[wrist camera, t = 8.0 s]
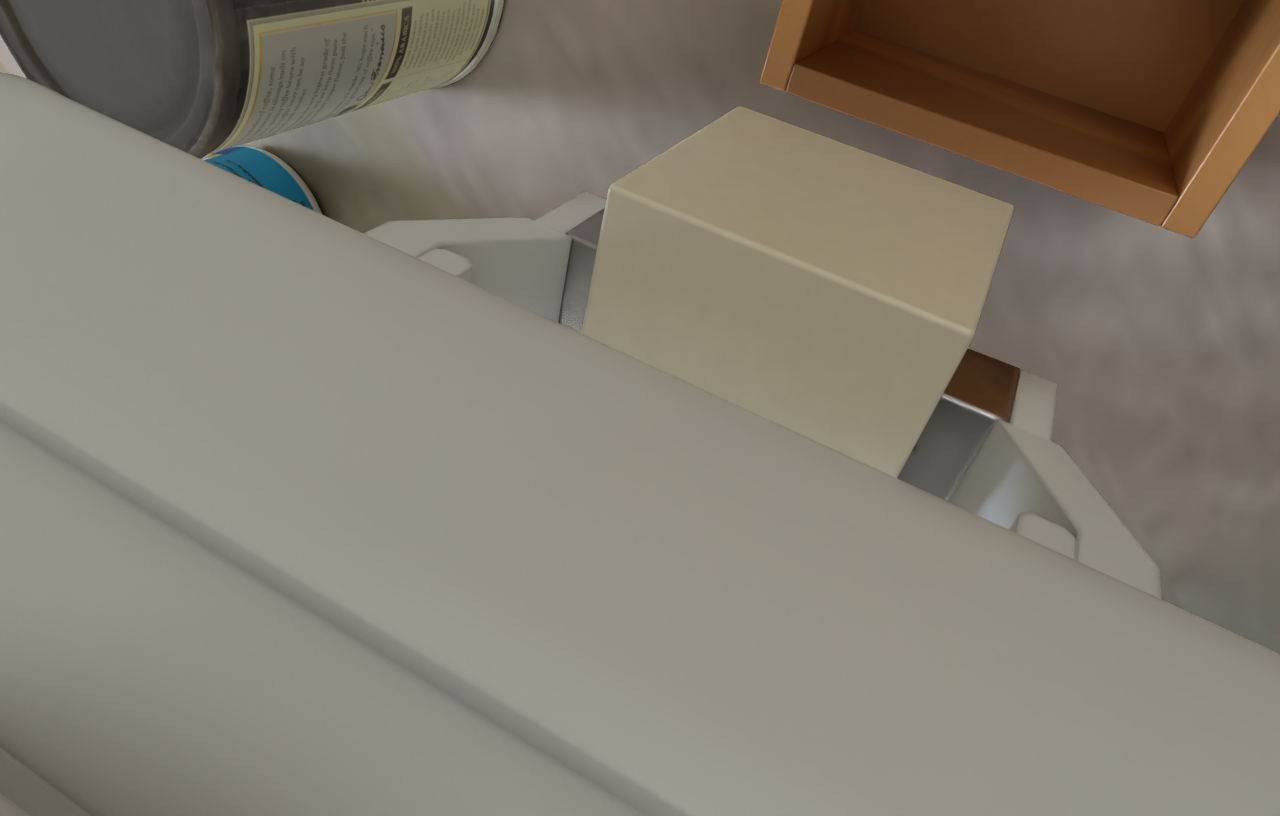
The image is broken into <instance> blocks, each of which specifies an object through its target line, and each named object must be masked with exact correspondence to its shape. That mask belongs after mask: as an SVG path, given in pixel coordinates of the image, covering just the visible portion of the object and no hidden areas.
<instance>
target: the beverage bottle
mask: <svg viewBox="0 0 1280 816" xmlns="http://www.w3.org/2000/svg"><path fill="white" fill-rule="evenodd" d="M202 160H204V161H206V162H208V163H210V164H213V165H215V166H217V167H219V168H221V169H224V170H226V171H228V172H230V173H232V174H234V175H237V176H239V177H241V178H243V179H245V180H248V181H250V182H252V183H254V184H256V185H258V186H261V187H263V188H265V189H267V190H269V191H272V192H274V193H276V194H278V195H280V196H282V197H285V198H287V199H289V200H291V201H293V202H296V203H298V204H300V205H302V206H304V207H306V208H309V209H311V210H313V211H315V212H317V213H320V214H322V213H321V210H320V208H319V206H318V204H317V202H316V200H315V198H314V196H313V195H312V193H311V191H310V190H309V188H308V187H307V185H306V184H305V183H304V181H303V180H302V179H301V178H300V177H299V175H298V174H297V173H296V172H295V171H294V170H293V169H292V168H291V167H290V166H289V165H287V164H286V163H285V162H284V161H282V160H281V159H280V158H278V157H277V156H275V155H273V154H271V153H269V152H267V151H265V150H263V149H260V148H256V147H251V146H236V147H232V148H228V149H225V150H222V151H218V152H216V153H213V154H211V155H209V156H207V157H205V158H202Z"/></svg>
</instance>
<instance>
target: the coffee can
mask: <svg viewBox="0 0 1280 816" xmlns="http://www.w3.org/2000/svg"><path fill="white" fill-rule="evenodd" d="M503 2H504V0H0V35H1V37H2V38H3V40H4V42H5V44H6V45H7V47H8V49H9V50H10V52H11V54H12V55H13V57H14V59H15V60H16V62H17V63H18V65H19V67H20V68H21V70H22V71H23V73H24V74H25V76H26V77H27V79H29V80H31V81H34V82H36V83H38V84H40V85H43V86H45V87H47V88H49V89H51V90H53V91H55V92H57V93H59V94H61V95H63V96H65V97H67V98H69V99H71V100H73V101H75V102H77V103H79V104H82V105H84V106H86V107H88V108H90V109H93V110H95V111H97V112H99V113H101V114H103V115H106V116H108V117H110V118H112V119H114V120H117V121H119V122H121V123H123V124H125V125H127V126H130V127H132V128H134V129H136V130H138V131H141V132H143V133H145V134H147V135H149V136H151V137H154V138H156V139H158V140H160V141H162V142H165V143H167V144H169V145H171V146H173V147H175V148H178V149H180V150H182V151H184V152H186V153H189V154H191V155H193V156H195V157H197V158H200V159H201V158H203V157H204V156H206V155H208V154H211V153H215V152H218V151H222V150H225V149H228V148H232V147H235V146H238V145H241V144H245V143H248V142H251V141H255V140H258V139H262V138H265V137H269V136H272V135H275V134H278V133H282V132H285V131H288V130H292V129H295V128H298V127H302V126H305V125H308V124H312V123H315V122H318V121H322V120H325V119H328V118H331V117H335V116H339V115H342V114H345V113H348V112H351V111H355V110H358V109H361V108H364V107H368V106H371V105H375V104H378V103H382V102H386V101H389V100H392V99H395V98H398V97H402V96H405V95H408V94H412V93H415V92H418V91H422V90H425V89H433V88H440V87H444V86H447V85H449V84H451V83H454V82H456V81H458V80H460V79H461V78H463V77H464V76H465V75H467V74H468V73H469V72H471V71H472V70H473V69H474V68H475V67H476V66H477V64H478V63H479V62H480V61H481V60H482V58H483V57H484V55H485V54H486V52H487V51H488V49H489V47H490V45H491V43H492V41H493V39H494V37H495V36H496V33H497V29H498V25H499V21H500V17H501V14H502V10H503Z"/></svg>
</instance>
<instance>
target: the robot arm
mask: <svg viewBox="0 0 1280 816" xmlns="http://www.w3.org/2000/svg"><path fill="white" fill-rule="evenodd" d="M605 204H606V199H604V198H601V197H599V196H596V195H593V194H590V193H588V192H583V193H581V194H579V195H578V196H576V197H574V198H573V199H571V200H569V201H567V202H566V203H564V204H562V205H560V206H559V207H557V208H555V209H554V210H552V211H550V212H548V213H547V214H545V215H543V216H542V217H540V218H538V219H536V220H535V221H534V220H531V219H529V218H527V217H516V218H479V219H442V220H405V221H388V222H386V223H384V224H382V225H380V226H377V227H375V228H373V229H371V230H369V231H367V232H365V233H361V232H359V231H357V230H355V229H352V228H350V227H348V226H346V225H344V224H341V223H339V222H337V221H335V220H333V219H331V218H328V217H326V216H324V215H322V214H320V213H317V212H315V211H313V210H311V209H309V208H306V207H304V206H302V205H300V204H298V203H296V202H293V201H291V200H289V199H287V198H285V197H282V196H280V195H278V194H276V193H274V192H272V191H269V190H267V189H265V188H263V187H261V186H258V185H256V184H254V183H252V182H250V181H248V180H245V179H243V178H241V177H239V176H237V175H234V174H232V173H230V172H228V171H226V170H224V169H221V168H219V167H217V166H215V165H213V164H210V163H208V162H206V161H204V160H202V159H200V158H197V157H195V156H193V155H191V154H189V153H186V152H184V151H182V150H180V149H178V148H175V147H173V146H171V145H169V144H167V143H165V142H162V141H160V140H158V139H156V138H154V137H151V136H149V135H147V134H145V133H143V132H141V131H138V130H136V129H134V128H132V127H130V126H127V125H125V124H123V123H121V122H119V121H117V120H114V119H112V118H110V117H108V116H106V115H103V114H101V113H99V112H97V111H95V110H93V109H90V108H88V107H86V106H84V105H82V104H79V103H77V102H75V101H73V100H71V99H69V98H67V97H65V96H63V95H61V94H59V93H57V92H55V91H53V90H51V89H49V88H47V87H45V86H43V85H40V84H38V83H36V82H34V81H31V80H29V79H27V78H23V77H20V76H17V75H13V74H7V73H1V72H0V816H1280V654H1279V653H1277V652H1275V651H1273V650H1270V649H1268V648H1266V647H1264V646H1262V645H1259V644H1257V643H1255V642H1253V641H1251V640H1249V639H1246V638H1244V637H1242V636H1240V635H1238V634H1235V633H1233V632H1231V631H1229V630H1227V629H1225V628H1222V627H1220V626H1218V625H1216V624H1214V623H1211V622H1209V621H1207V620H1205V619H1203V618H1201V617H1198V616H1196V615H1194V614H1192V613H1190V612H1187V611H1185V610H1183V609H1181V608H1179V607H1177V606H1174V605H1172V604H1170V603H1168V602H1166V601H1163V600H1161V584H1160V568H1159V567H1158V565H1157V564H1156V563H1155V562H1154V560H1153V559H1152V558H1151V557H1150V555H1149V554H1148V553H1147V552H1146V551H1145V549H1144V548H1143V547H1142V546H1141V544H1140V543H1139V542H1138V541H1137V539H1136V538H1135V537H1134V536H1133V534H1132V533H1131V532H1130V531H1129V529H1128V528H1127V527H1126V526H1125V524H1124V523H1123V522H1122V521H1121V519H1120V518H1119V517H1118V516H1117V514H1116V513H1115V512H1114V511H1113V509H1112V508H1111V507H1110V506H1109V504H1108V503H1107V502H1106V501H1105V500H1104V498H1103V497H1102V496H1101V495H1100V493H1099V492H1098V491H1097V490H1096V488H1095V487H1094V486H1093V485H1092V483H1091V482H1090V481H1089V480H1088V478H1087V477H1086V476H1085V475H1084V473H1083V472H1082V471H1081V470H1080V468H1079V467H1078V466H1077V465H1076V463H1075V462H1074V461H1073V460H1072V458H1071V457H1070V456H1069V455H1068V453H1067V452H1066V451H1065V450H1064V448H1063V447H1062V446H1061V445H1058V444H1056V443H1054V442H1052V441H1051V439H1052V430H1053V421H1054V412H1055V403H1056V394H1057V385H1056V384H1055V382H1052V381H1049V380H1047V379H1044V378H1041V377H1038V376H1035V375H1033V374H1030V373H1027V372H1024V371H1022V370H1020V368H1017V367H1015V366H1012V365H1009V364H1007V363H1004V362H1002V361H999V360H996V359H994V358H991V357H988V356H986V355H983V354H981V353H978V352H975V351H973V350H970V349H967V350H966V352H965V354H964V356H963V358H962V360H961V361H960V363H959V365H958V367H957V369H956V371H955V373H954V374H953V376H952V378H951V380H950V382H949V384H948V385H947V387H946V389H945V391H944V393H943V395H942V397H941V398H940V400H939V402H938V404H937V406H936V408H935V409H934V411H933V413H932V415H931V417H930V419H929V420H928V422H927V424H926V426H925V428H924V430H923V432H922V433H921V435H920V437H919V439H918V441H917V443H916V444H915V446H914V448H913V450H912V452H911V454H910V456H909V457H908V459H907V461H906V463H905V465H904V467H903V468H902V470H901V472H900V474H899V476H898V478H895V477H893V476H891V475H889V474H886V473H884V472H882V471H880V470H878V469H876V468H873V467H871V466H869V465H867V464H865V463H862V462H860V461H858V460H856V459H854V458H852V457H849V456H847V455H845V454H843V453H841V452H838V451H836V450H834V449H832V448H830V447H828V446H825V445H823V444H821V443H819V442H817V441H814V440H812V439H810V438H808V437H806V436H804V435H801V434H799V433H797V432H795V431H793V430H791V429H788V428H786V427H784V426H782V425H780V424H777V423H775V422H773V421H771V420H769V419H767V418H764V417H762V416H760V415H758V414H756V413H753V412H751V411H749V410H747V409H745V408H743V407H740V406H738V405H736V404H734V403H732V402H729V401H727V400H725V399H723V398H721V397H719V396H716V395H714V394H712V393H710V392H708V391H706V390H703V389H701V388H699V387H697V386H695V385H692V384H690V383H688V382H686V381H684V380H682V379H679V378H677V377H675V376H673V375H671V374H668V373H666V372H664V371H662V370H660V369H658V368H655V367H653V366H651V365H649V364H647V363H644V362H642V361H640V360H638V359H636V358H634V357H631V356H629V355H627V354H625V353H623V352H621V351H618V350H616V349H614V348H612V347H610V346H607V345H605V344H603V343H601V342H599V341H597V340H594V339H592V338H590V337H588V336H586V335H583V334H581V333H582V328H583V322H584V317H585V312H586V306H587V301H588V296H589V290H590V285H591V280H592V274H593V269H594V263H595V258H596V253H597V247H598V242H599V237H600V231H601V226H602V221H603V215H604V210H605Z"/></svg>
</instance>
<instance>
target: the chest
mask: <svg viewBox="0 0 1280 816" xmlns="http://www.w3.org/2000/svg"><path fill="white" fill-rule="evenodd" d="M760 83H761V84H763V85H766V86H769V87H771V88H774V89H777V90H780V91H786V93H788V94H790V95H793V96H796V97H799V98H802V99H804V100H807V101H810V102H813V103H816V104H818V105H821V106H824V107H827V108H830V109H832V110H835V111H838V112H841V113H843V114H846V115H849V116H852V117H855V118H857V119H860V120H863V121H866V122H869V123H871V124H874V125H877V126H880V127H883V128H885V129H888V130H891V131H894V132H897V133H899V134H902V135H905V136H908V137H911V138H913V139H916V140H919V141H922V142H924V143H927V144H930V145H933V146H936V147H938V148H941V149H944V150H947V151H950V152H952V153H955V154H958V155H961V156H964V157H966V158H969V159H972V160H975V161H978V162H980V163H983V164H986V165H989V166H992V167H994V168H997V169H1000V170H1003V171H1005V172H1008V173H1011V174H1014V175H1017V176H1019V177H1022V178H1025V179H1028V180H1031V181H1033V182H1036V183H1039V184H1042V185H1045V186H1047V187H1050V188H1053V189H1056V190H1059V191H1061V192H1064V193H1067V194H1070V195H1073V196H1075V197H1078V198H1081V199H1084V200H1086V201H1089V202H1092V203H1095V204H1098V205H1100V206H1103V207H1106V208H1109V209H1112V210H1114V211H1117V212H1120V213H1123V214H1126V215H1128V216H1131V217H1134V218H1137V219H1140V220H1142V221H1145V222H1148V223H1151V224H1154V225H1156V226H1160V225H1161V227H1162V228H1165V229H1167V230H1170V231H1173V232H1176V233H1179V234H1181V235H1184V236H1187V237H1190V238H1194V237H1195V236H1196V235H1197V234H1198V232H1199V231H1200V229H1201V228H1202V226H1203V225H1204V223H1205V222H1206V220H1207V219H1208V217H1209V216H1210V214H1211V213H1212V212H1213V210H1214V209H1215V207H1216V206H1217V204H1218V203H1219V201H1220V200H1221V198H1222V197H1223V195H1224V194H1225V193H1226V191H1227V190H1228V188H1229V187H1230V185H1231V184H1232V182H1233V181H1234V179H1235V178H1236V176H1237V175H1238V173H1239V172H1240V171H1241V169H1242V168H1243V166H1244V165H1245V163H1246V162H1247V160H1248V159H1249V157H1250V156H1251V154H1252V153H1253V151H1254V150H1255V149H1256V147H1257V146H1258V144H1259V143H1260V141H1261V140H1262V138H1263V137H1264V135H1265V134H1266V132H1267V131H1268V129H1269V128H1270V127H1271V125H1272V124H1273V122H1274V121H1275V119H1276V118H1277V116H1278V115H1279V113H1280V0H783V2H782V5H781V8H780V12H779V15H778V19H777V22H776V26H775V29H774V33H773V36H772V39H771V43H770V46H769V50H768V53H767V57H766V60H765V63H764V67H763V70H762V74H761V77H760Z"/></svg>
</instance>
